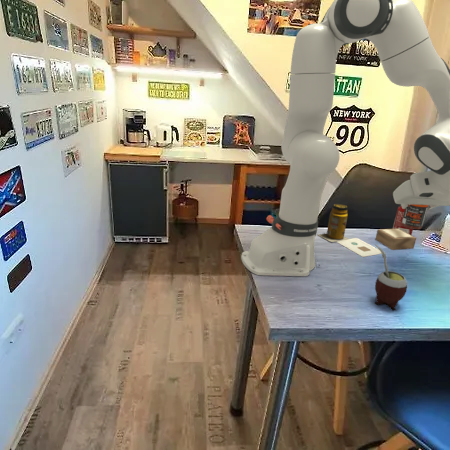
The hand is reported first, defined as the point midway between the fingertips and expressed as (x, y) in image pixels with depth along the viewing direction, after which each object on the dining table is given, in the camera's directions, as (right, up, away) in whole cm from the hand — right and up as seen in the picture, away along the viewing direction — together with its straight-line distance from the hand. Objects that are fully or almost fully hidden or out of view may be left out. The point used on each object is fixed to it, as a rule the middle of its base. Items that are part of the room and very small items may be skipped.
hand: (415, 207), depth 109 cm
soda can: (+8, -10, +25) cm, 29 cm away
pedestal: (+1, -12, +17) cm, 21 cm away
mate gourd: (-19, -26, -21) cm, 38 cm away
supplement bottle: (0, -6, +2) cm, 6 cm away
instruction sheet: (-13, -13, +12) cm, 22 cm away
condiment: (-20, -10, +19) cm, 29 cm away
